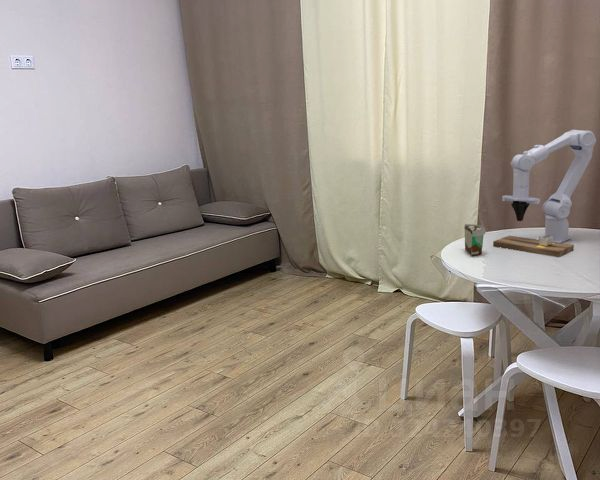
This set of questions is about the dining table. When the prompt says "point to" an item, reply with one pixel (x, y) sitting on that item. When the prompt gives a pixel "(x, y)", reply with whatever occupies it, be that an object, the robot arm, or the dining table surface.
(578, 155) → the robot arm
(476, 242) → the food container
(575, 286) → the dining table surface
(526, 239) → the fader console
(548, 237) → the fader knob
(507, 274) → the dining table surface
